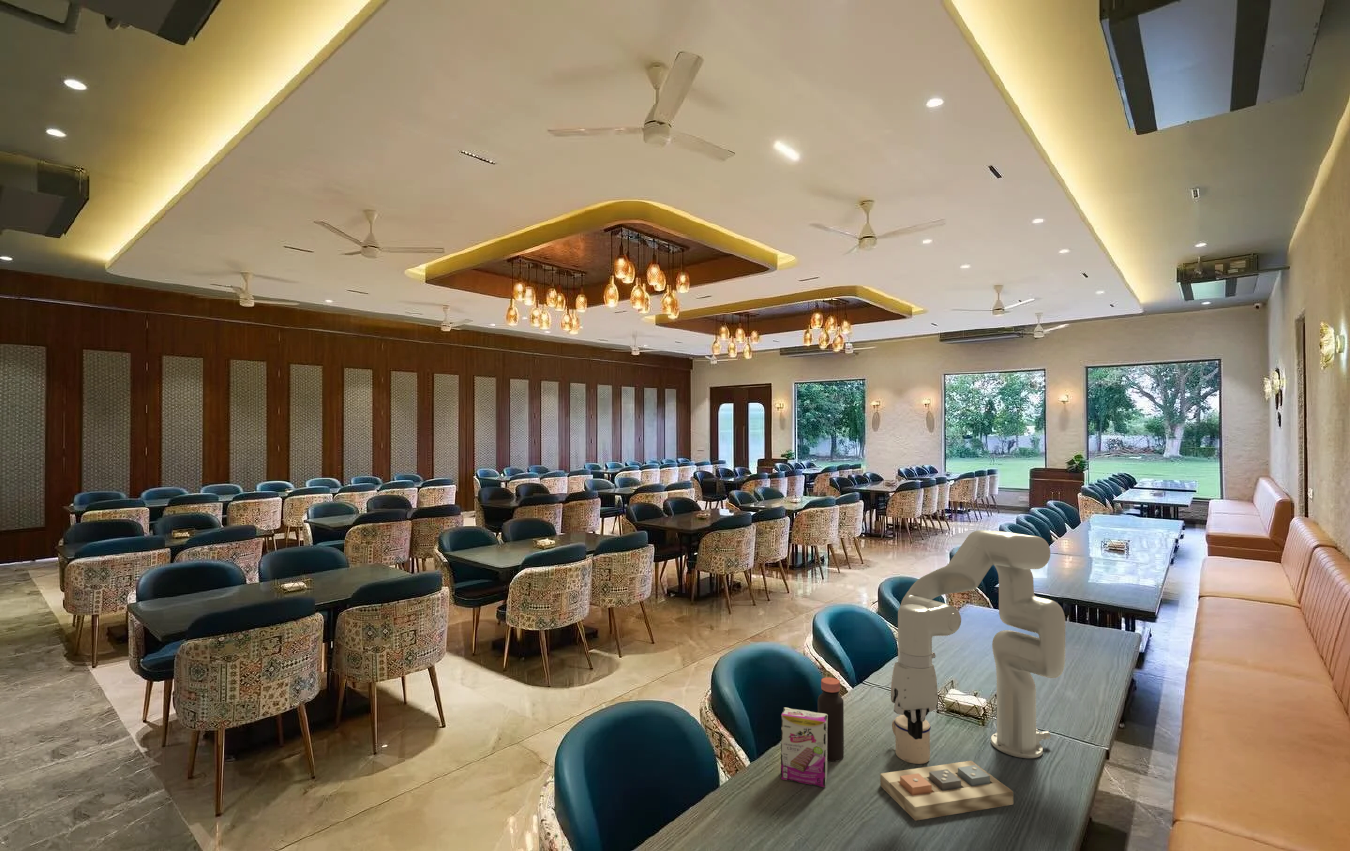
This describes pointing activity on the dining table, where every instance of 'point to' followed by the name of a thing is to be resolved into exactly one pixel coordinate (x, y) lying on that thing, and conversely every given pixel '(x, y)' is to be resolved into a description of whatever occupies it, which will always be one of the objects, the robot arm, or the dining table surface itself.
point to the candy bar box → (804, 746)
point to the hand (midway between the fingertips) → (915, 736)
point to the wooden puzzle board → (946, 793)
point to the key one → (915, 784)
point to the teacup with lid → (911, 742)
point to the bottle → (833, 717)
